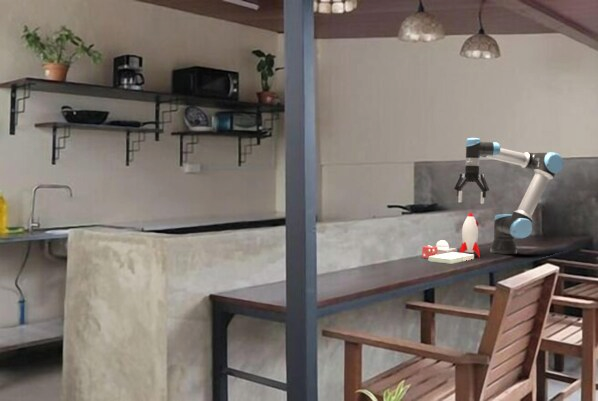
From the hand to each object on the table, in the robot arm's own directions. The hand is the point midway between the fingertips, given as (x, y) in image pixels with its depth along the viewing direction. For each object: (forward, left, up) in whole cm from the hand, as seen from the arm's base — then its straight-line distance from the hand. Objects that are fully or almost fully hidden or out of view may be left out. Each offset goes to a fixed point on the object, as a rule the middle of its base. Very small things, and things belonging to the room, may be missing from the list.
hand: (471, 203), depth 363 cm
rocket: (0, 0, -31) cm, 31 cm away
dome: (+14, -6, -30) cm, 33 cm away
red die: (+25, +2, -30) cm, 40 cm away
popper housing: (+14, -6, -30) cm, 34 cm away
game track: (+17, +12, -30) cm, 37 cm away
